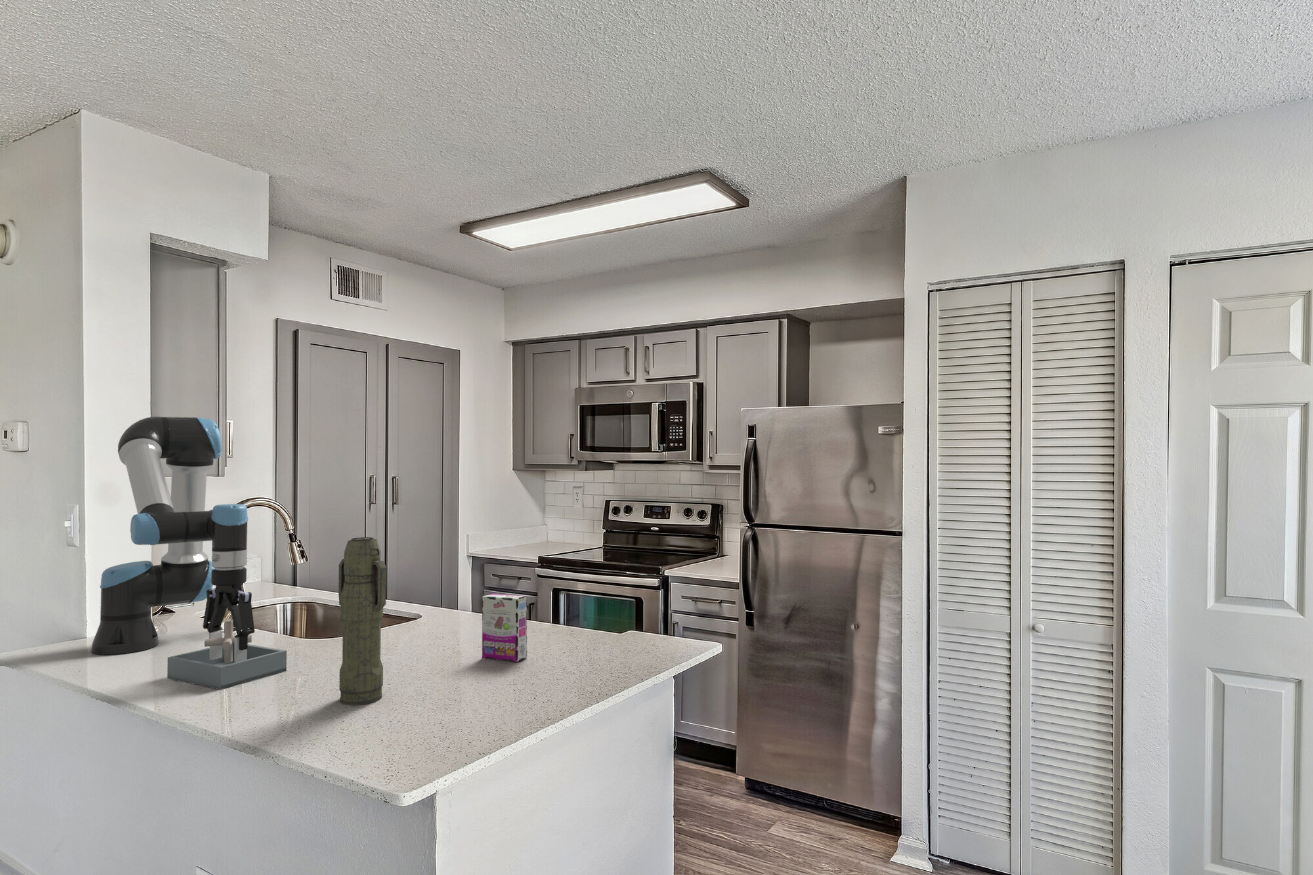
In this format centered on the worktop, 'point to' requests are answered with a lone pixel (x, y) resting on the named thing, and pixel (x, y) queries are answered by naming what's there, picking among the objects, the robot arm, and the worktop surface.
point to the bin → (226, 667)
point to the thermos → (361, 621)
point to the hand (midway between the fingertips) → (227, 660)
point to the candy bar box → (504, 627)
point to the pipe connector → (226, 641)
